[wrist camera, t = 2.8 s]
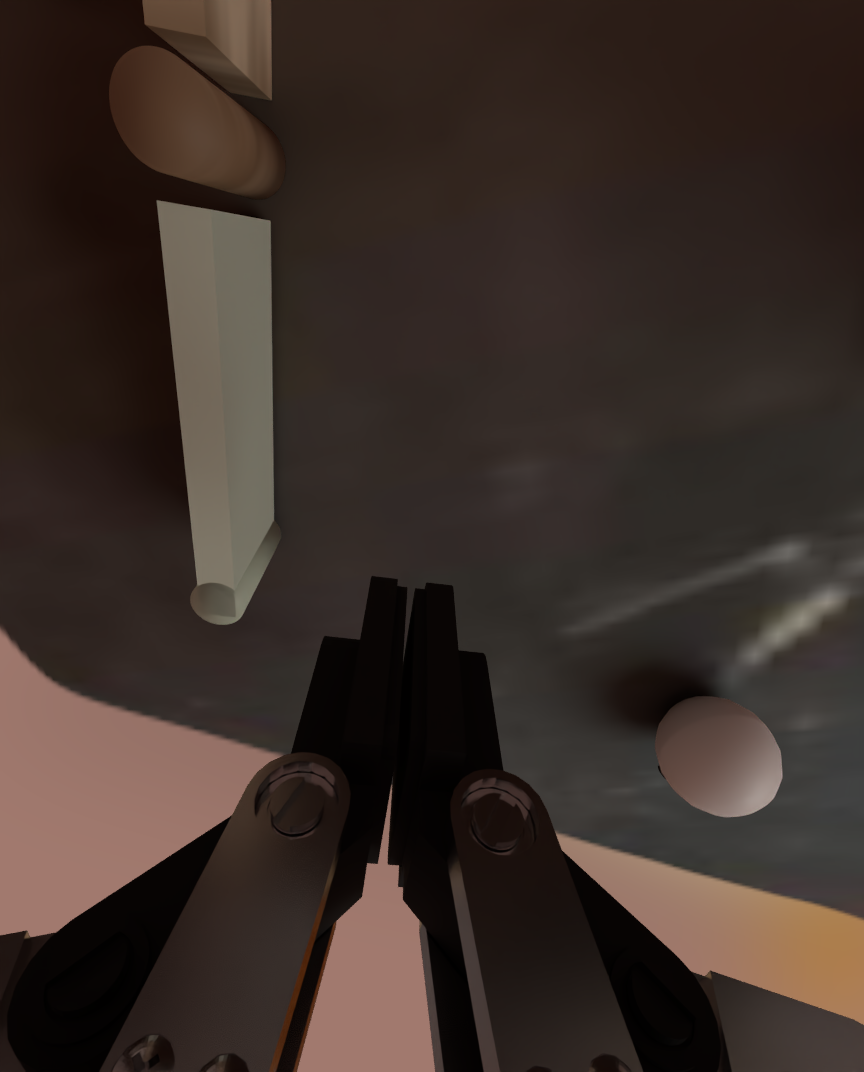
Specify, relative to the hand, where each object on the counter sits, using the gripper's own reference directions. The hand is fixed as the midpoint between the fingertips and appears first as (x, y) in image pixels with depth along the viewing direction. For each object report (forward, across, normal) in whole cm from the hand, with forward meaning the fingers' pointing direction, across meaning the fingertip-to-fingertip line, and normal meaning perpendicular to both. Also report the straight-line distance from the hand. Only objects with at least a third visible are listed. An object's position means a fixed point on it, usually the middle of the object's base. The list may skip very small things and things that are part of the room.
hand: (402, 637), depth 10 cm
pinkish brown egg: (+12, -18, +13) cm, 25 cm away
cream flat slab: (+11, +6, -1) cm, 12 cm away
